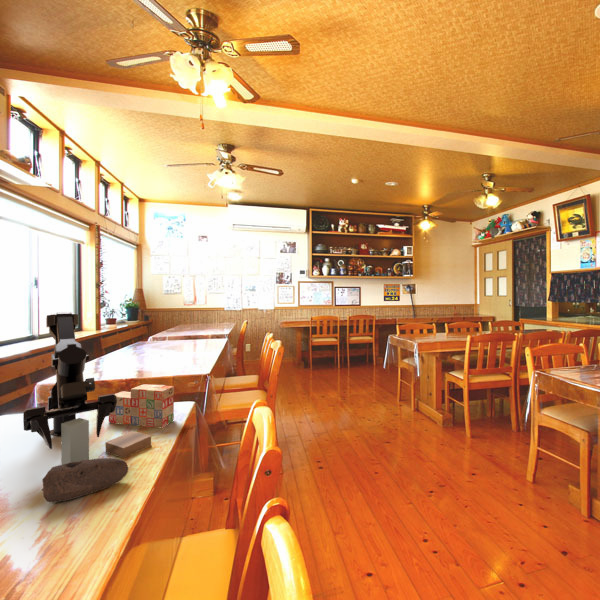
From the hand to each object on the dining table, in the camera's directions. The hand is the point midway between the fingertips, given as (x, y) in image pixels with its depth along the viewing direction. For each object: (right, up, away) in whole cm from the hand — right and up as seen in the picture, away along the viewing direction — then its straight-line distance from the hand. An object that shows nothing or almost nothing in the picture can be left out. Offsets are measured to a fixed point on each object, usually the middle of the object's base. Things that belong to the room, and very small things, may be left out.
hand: (75, 442), depth 73 cm
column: (0, -7, 0) cm, 7 cm away
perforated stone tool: (+8, -8, -8) cm, 14 cm away
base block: (+6, -8, +12) cm, 16 cm away
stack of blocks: (-1, -8, +31) cm, 32 cm away
